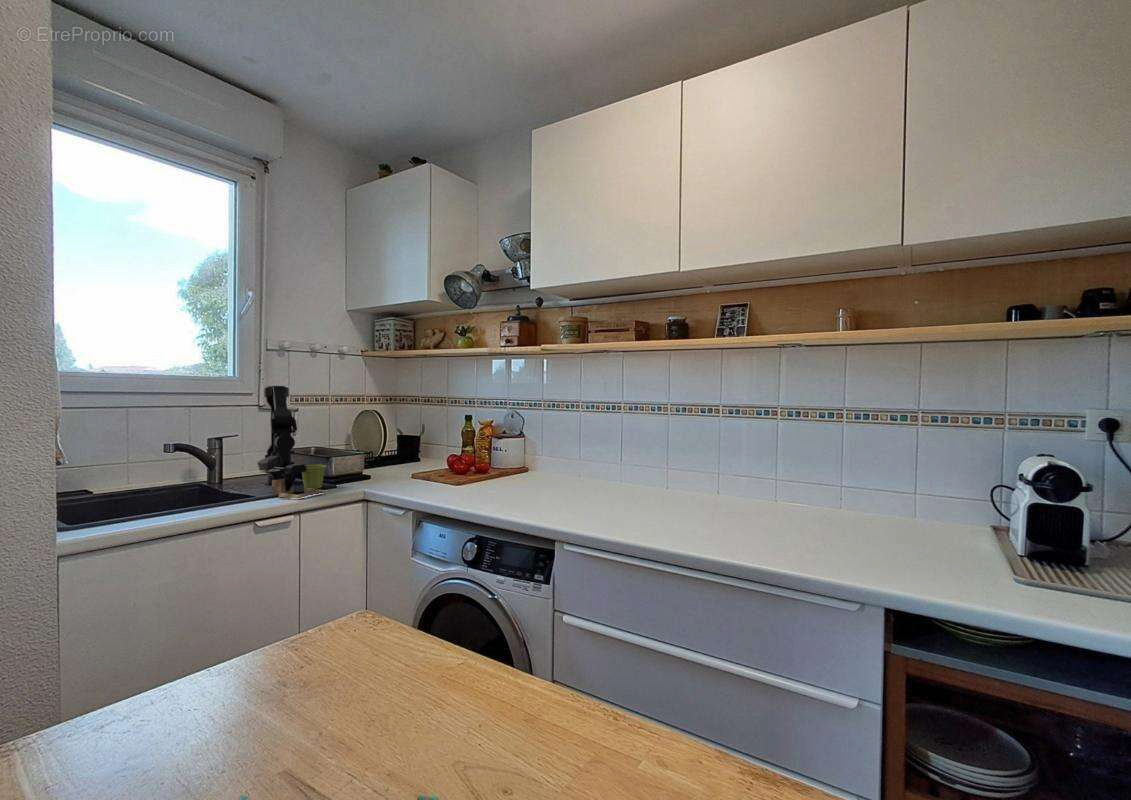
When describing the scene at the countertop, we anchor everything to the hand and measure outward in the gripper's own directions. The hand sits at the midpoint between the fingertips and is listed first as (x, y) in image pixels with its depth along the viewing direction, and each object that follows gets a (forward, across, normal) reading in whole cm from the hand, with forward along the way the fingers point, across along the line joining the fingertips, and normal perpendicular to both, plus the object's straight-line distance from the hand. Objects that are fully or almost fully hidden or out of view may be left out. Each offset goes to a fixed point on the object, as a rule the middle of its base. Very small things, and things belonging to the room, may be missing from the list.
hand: (282, 490), depth 189 cm
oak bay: (+1, +10, 0) cm, 11 cm away
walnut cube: (+1, 0, 0) cm, 1 cm away
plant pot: (+1, +2, +12) cm, 12 cm away
